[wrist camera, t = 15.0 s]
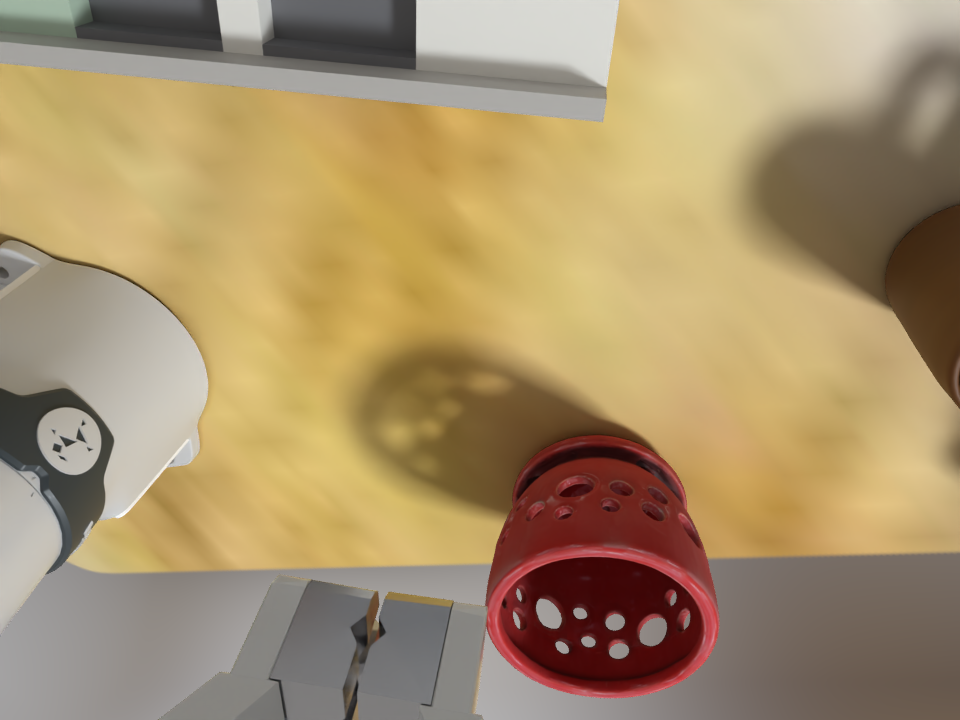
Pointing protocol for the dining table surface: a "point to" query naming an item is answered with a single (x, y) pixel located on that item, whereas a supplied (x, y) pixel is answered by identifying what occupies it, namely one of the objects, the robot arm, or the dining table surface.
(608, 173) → the dining table surface
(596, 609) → the plant pot
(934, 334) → the mug
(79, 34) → the white board with recesses
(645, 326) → the dining table surface
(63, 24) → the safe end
